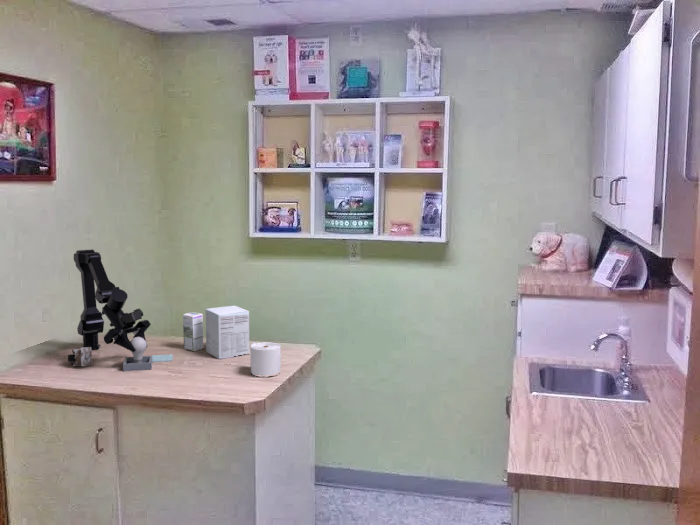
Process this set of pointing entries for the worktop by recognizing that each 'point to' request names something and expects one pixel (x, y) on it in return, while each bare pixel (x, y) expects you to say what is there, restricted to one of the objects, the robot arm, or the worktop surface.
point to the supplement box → (227, 331)
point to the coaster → (162, 358)
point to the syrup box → (193, 331)
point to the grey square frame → (137, 364)
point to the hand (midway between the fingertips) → (140, 349)
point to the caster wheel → (81, 356)
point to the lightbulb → (138, 349)
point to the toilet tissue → (265, 358)
